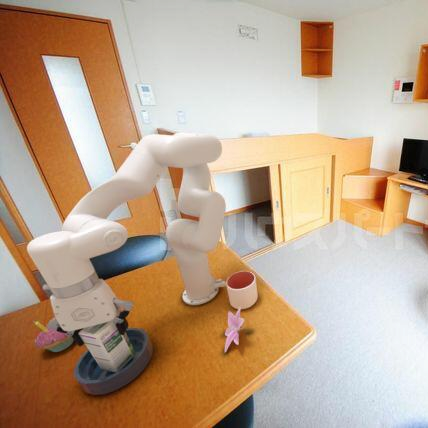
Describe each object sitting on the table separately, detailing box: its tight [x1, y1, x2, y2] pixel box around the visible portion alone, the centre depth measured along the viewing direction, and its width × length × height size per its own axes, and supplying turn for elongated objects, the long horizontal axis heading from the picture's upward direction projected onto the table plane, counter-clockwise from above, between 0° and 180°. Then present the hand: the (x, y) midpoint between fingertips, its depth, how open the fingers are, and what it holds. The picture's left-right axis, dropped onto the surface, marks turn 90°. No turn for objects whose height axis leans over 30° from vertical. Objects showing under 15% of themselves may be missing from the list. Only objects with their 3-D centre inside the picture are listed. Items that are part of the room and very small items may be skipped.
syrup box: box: [78, 320, 136, 372], centre depth 63 cm, size 6×6×14 cm
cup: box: [225, 270, 259, 310], centre depth 87 cm, size 10×10×10 cm
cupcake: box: [32, 320, 75, 353], centre depth 70 cm, size 9×8×12 cm
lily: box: [224, 307, 251, 354], centre depth 74 cm, size 12×12×10 cm
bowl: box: [73, 327, 154, 396], centre depth 66 cm, size 16×16×6 cm
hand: (104, 335), depth 62 cm, fingers closed on syrup box, 7 cm apart
